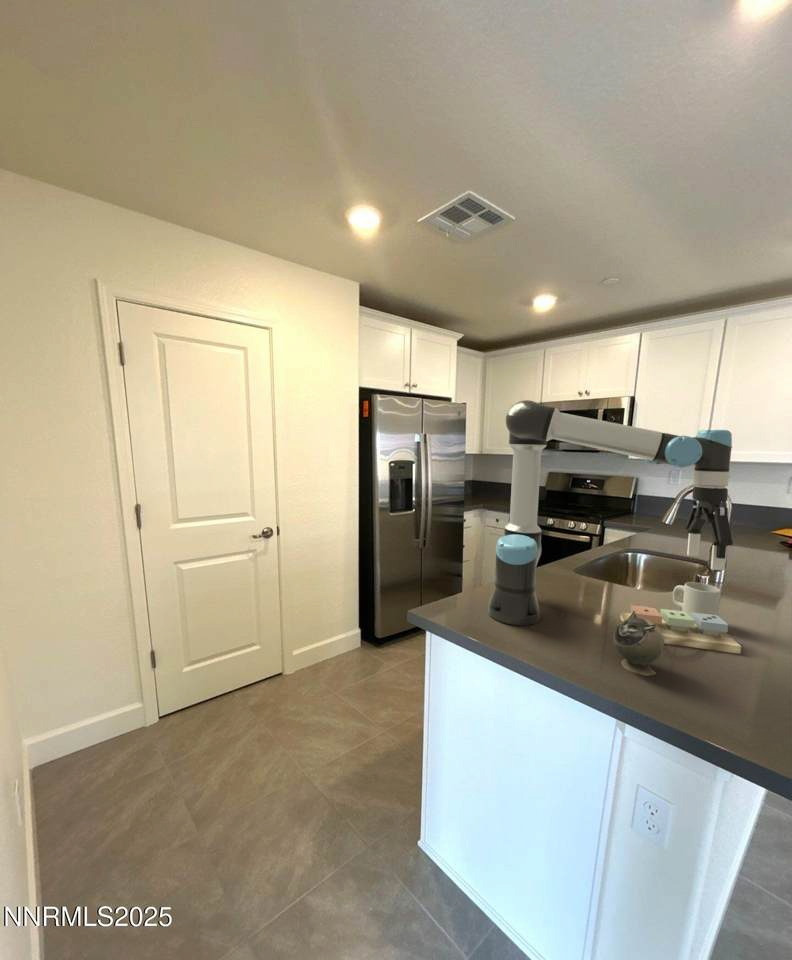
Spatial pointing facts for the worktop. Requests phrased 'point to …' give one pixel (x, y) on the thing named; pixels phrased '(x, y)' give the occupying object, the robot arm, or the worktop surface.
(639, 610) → the terracotta tile
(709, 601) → the mug
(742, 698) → the worktop surface
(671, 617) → the sage tile
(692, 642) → the board
